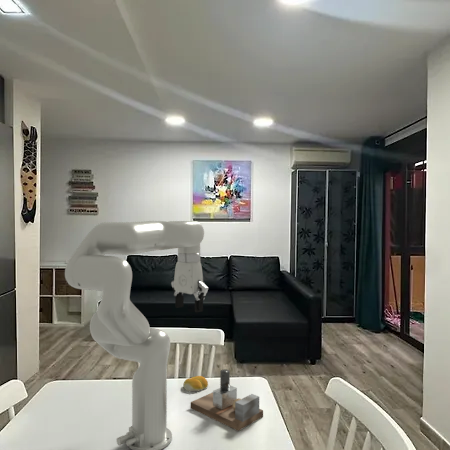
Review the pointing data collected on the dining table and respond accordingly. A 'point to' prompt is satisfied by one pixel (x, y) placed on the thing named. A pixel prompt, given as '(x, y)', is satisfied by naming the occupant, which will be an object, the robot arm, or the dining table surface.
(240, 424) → the base
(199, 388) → the bread roll
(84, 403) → the dining table surface
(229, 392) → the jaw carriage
